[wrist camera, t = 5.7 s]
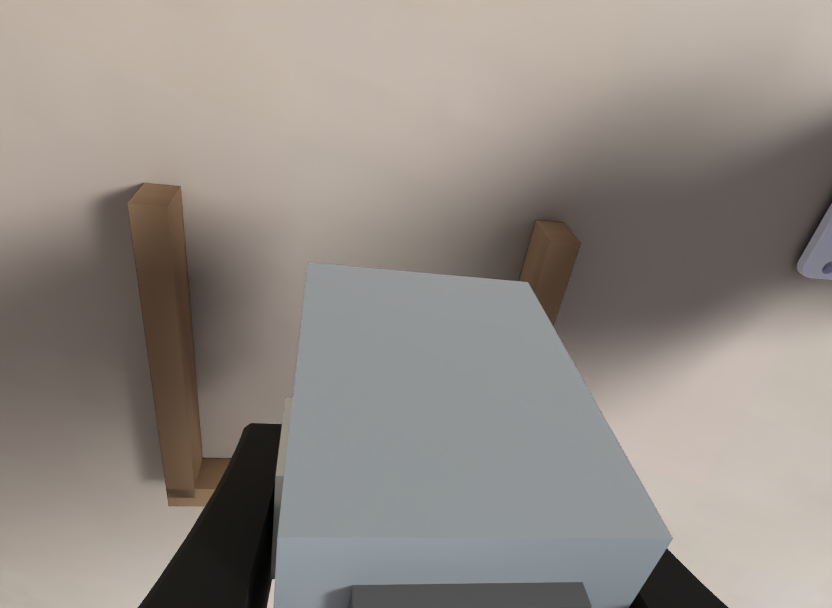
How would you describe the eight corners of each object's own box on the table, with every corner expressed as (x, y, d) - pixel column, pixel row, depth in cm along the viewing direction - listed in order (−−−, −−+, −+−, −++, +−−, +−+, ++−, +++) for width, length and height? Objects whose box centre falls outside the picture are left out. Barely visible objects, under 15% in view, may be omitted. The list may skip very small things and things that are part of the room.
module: (528, 281, 12) (686, 561, 6) (480, 438, 14) (565, 739, 9) (299, 261, 11) (259, 564, 5) (288, 431, 13) (252, 760, 8)
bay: (564, 223, 18) (581, 243, 17) (484, 478, 25) (492, 506, 24) (143, 183, 16) (127, 203, 15) (178, 475, 23) (168, 506, 21)
